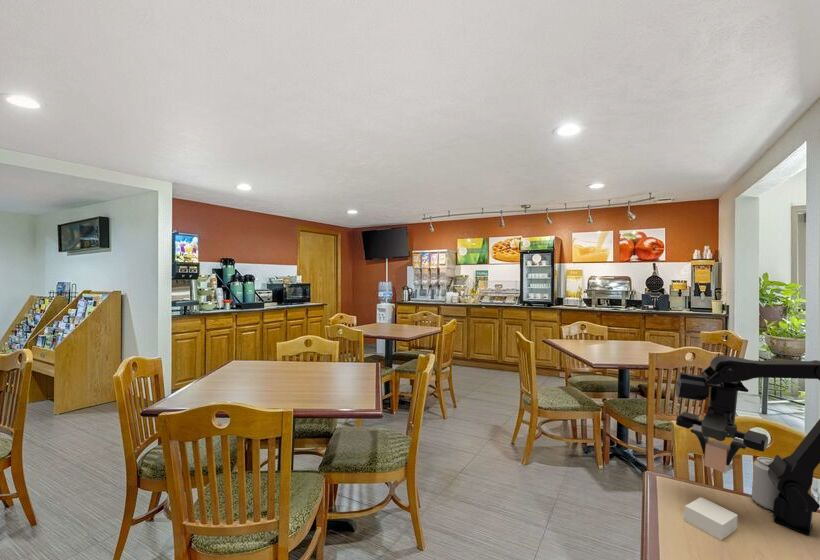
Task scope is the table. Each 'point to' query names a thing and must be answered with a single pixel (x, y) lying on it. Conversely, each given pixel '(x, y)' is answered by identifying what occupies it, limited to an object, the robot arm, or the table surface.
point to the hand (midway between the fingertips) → (716, 461)
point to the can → (763, 484)
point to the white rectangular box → (711, 518)
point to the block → (716, 455)
